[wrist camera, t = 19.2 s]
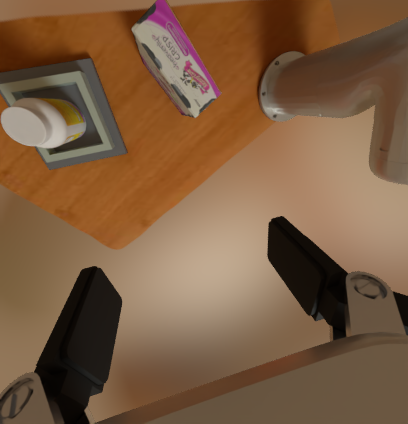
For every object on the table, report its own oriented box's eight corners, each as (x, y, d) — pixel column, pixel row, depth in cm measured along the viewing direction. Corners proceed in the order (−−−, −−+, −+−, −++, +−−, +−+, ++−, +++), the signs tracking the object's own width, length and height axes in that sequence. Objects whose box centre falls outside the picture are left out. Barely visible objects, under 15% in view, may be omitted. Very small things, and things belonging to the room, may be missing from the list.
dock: (92, 59, 31) (85, 54, 28) (127, 152, 40) (125, 156, 37) (-7, 75, 30) (-26, 72, 27) (51, 168, 38) (43, 173, 35)
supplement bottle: (46, 91, 31) (-13, 84, 21) (89, 109, 34) (56, 111, 23) (44, 130, 34) (-9, 142, 23) (84, 144, 36) (53, 160, 26)
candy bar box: (200, 98, 38) (224, 94, 24) (182, 115, 38) (195, 121, 25) (161, 39, 32) (162, -11, 18) (141, 61, 33) (128, 29, 19)
